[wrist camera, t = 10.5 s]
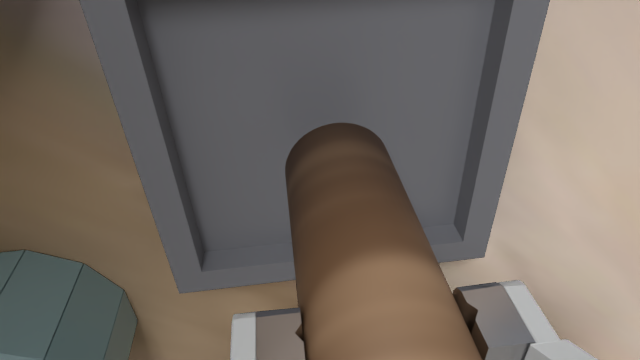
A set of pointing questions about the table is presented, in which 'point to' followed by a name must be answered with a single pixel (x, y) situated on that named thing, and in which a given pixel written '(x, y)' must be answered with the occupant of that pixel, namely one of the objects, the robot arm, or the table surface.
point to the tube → (61, 311)
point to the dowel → (365, 256)
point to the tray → (311, 113)
